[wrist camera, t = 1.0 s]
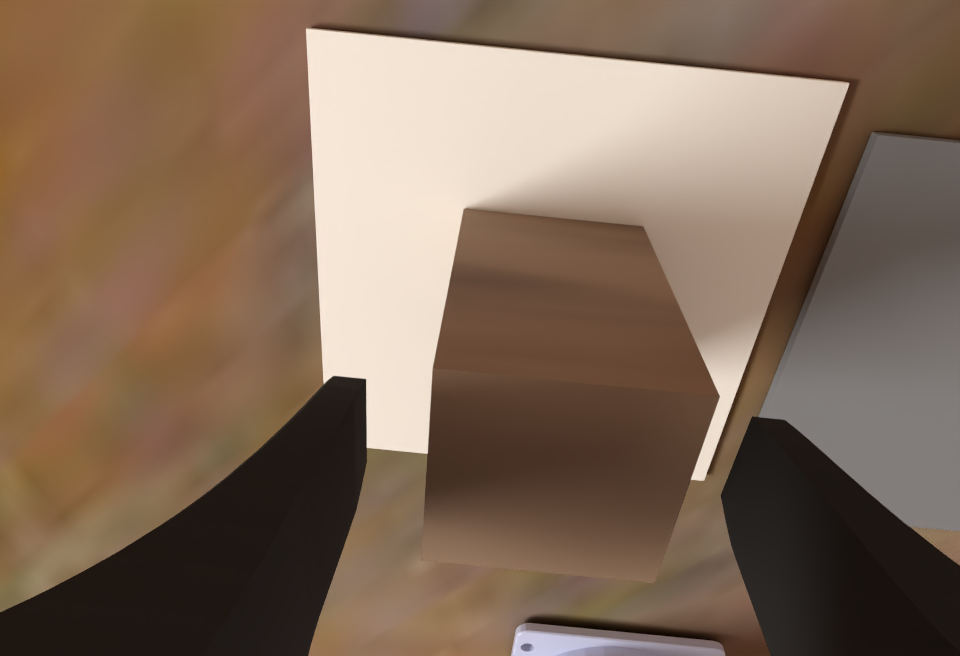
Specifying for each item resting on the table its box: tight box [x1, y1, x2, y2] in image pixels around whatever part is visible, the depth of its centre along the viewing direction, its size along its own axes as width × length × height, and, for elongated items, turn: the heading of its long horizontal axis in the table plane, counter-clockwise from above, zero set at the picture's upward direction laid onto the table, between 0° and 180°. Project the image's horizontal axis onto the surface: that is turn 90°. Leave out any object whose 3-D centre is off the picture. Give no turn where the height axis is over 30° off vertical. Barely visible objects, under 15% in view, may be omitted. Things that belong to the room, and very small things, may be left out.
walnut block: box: [421, 209, 720, 583], centre depth 14 cm, size 4×4×7 cm
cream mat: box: [306, 28, 850, 481], centre depth 17 cm, size 12×12×1 cm
